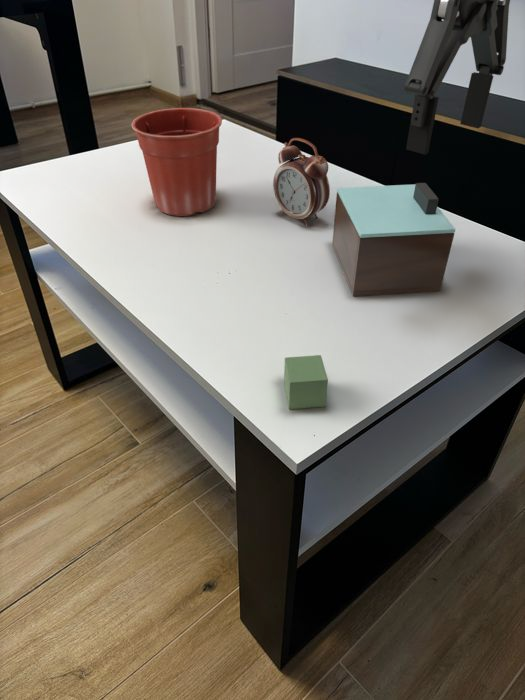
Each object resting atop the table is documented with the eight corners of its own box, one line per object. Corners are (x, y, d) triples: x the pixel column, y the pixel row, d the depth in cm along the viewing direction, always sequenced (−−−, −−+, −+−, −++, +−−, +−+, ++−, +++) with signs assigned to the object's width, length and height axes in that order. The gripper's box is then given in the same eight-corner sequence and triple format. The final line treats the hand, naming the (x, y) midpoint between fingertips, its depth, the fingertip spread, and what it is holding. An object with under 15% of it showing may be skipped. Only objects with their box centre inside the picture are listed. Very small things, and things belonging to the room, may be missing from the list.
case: (440, 291, 85) (454, 233, 78) (352, 296, 84) (360, 238, 77) (408, 241, 97) (419, 188, 91) (332, 245, 96) (336, 191, 89)
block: (325, 406, 66) (328, 379, 63) (288, 409, 65) (289, 382, 63) (318, 381, 69) (321, 354, 66) (283, 383, 69) (284, 357, 66)
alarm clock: (271, 213, 106) (271, 135, 96) (288, 205, 108) (290, 128, 99) (313, 232, 100) (318, 150, 90) (329, 223, 102) (336, 143, 93)
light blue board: (454, 232, 78) (459, 213, 76) (360, 238, 77) (362, 218, 75) (419, 187, 90) (422, 169, 89) (336, 191, 89) (338, 173, 87)
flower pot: (133, 196, 112) (119, 115, 101) (206, 180, 118) (200, 102, 107) (161, 229, 101) (149, 142, 90) (240, 210, 107) (237, 126, 96)
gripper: (507, -70, 67) (466, 110, 80) (391, -60, 53) (365, 155, 67) (569, -68, 62) (514, 122, 76) (461, -57, 49) (418, 172, 63)
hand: (444, 138), depth 71 cm, fingers open, 13 cm apart
